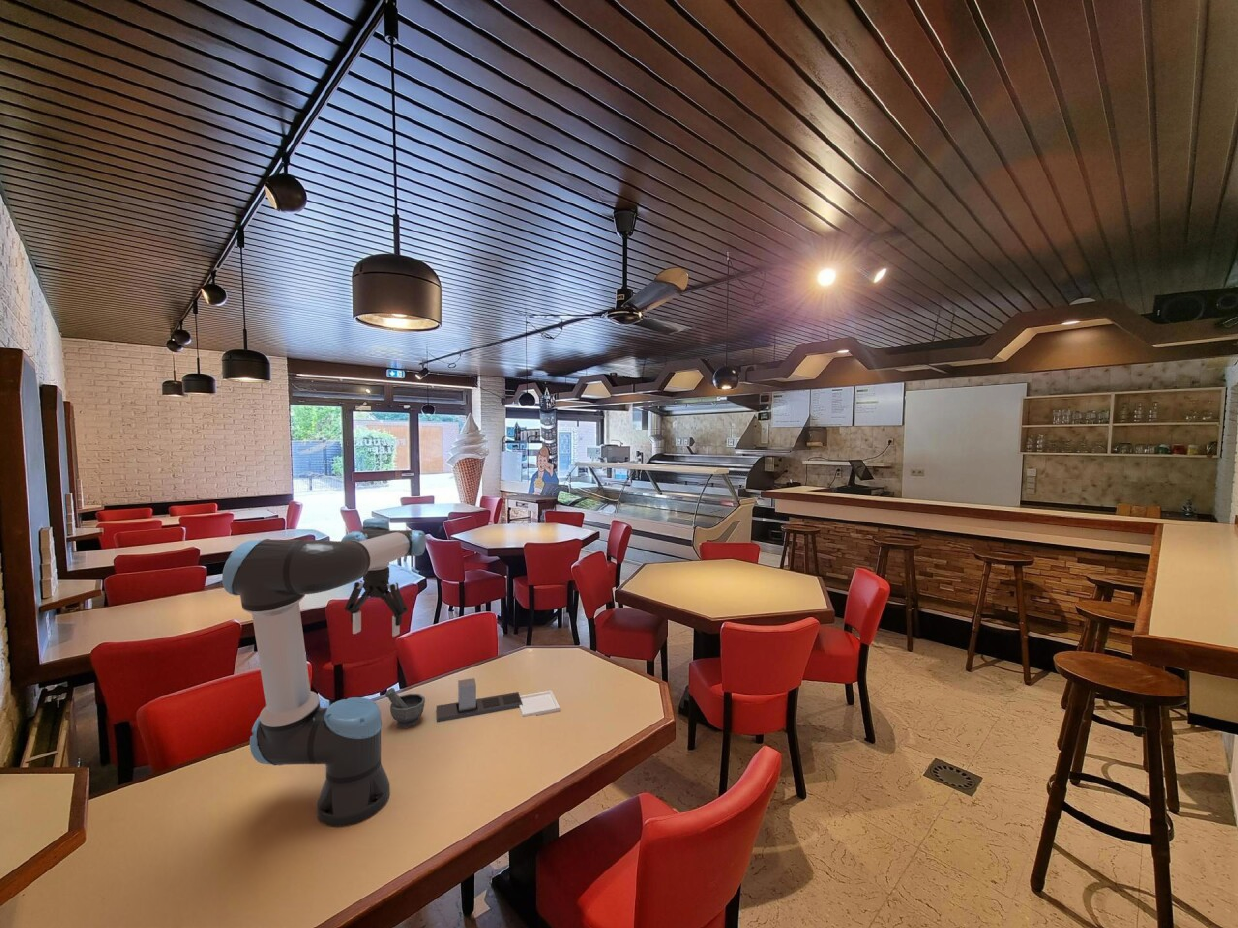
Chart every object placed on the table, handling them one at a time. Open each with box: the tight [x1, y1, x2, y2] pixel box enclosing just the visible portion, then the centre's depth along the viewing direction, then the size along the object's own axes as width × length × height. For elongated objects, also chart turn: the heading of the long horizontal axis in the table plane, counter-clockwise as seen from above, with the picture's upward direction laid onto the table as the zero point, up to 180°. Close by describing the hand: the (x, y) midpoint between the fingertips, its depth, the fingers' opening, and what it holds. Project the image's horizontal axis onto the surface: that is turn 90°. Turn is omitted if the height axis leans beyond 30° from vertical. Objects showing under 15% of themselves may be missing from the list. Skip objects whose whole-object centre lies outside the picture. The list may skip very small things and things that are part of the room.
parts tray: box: [518, 690, 561, 718], centre depth 163 cm, size 12×12×1 cm
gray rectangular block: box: [457, 677, 477, 713], centre depth 158 cm, size 5×5×9 cm
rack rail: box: [436, 691, 523, 723], centre depth 160 cm, size 8×26×2 cm, turn 111°
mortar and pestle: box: [384, 687, 426, 729], centre depth 151 cm, size 11×9×12 cm
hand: (376, 634), depth 157 cm, fingers open, 13 cm apart
